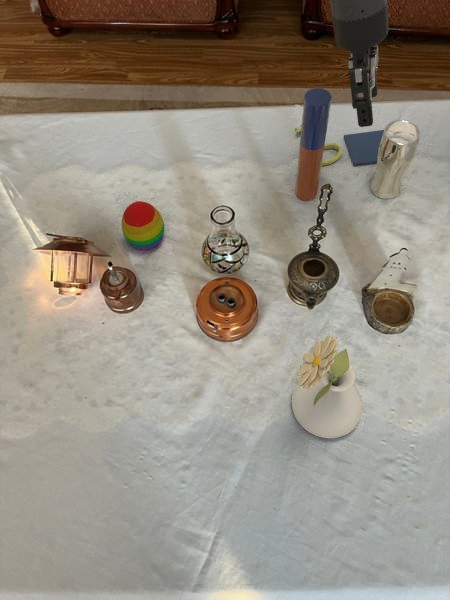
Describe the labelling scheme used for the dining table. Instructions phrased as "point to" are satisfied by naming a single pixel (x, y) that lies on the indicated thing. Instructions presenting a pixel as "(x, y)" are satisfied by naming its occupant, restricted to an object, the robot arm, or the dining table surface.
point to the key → (327, 146)
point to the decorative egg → (142, 225)
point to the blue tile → (363, 147)
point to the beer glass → (394, 157)
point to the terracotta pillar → (308, 173)
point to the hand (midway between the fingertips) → (368, 110)
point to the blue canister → (315, 118)
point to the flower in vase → (327, 392)
